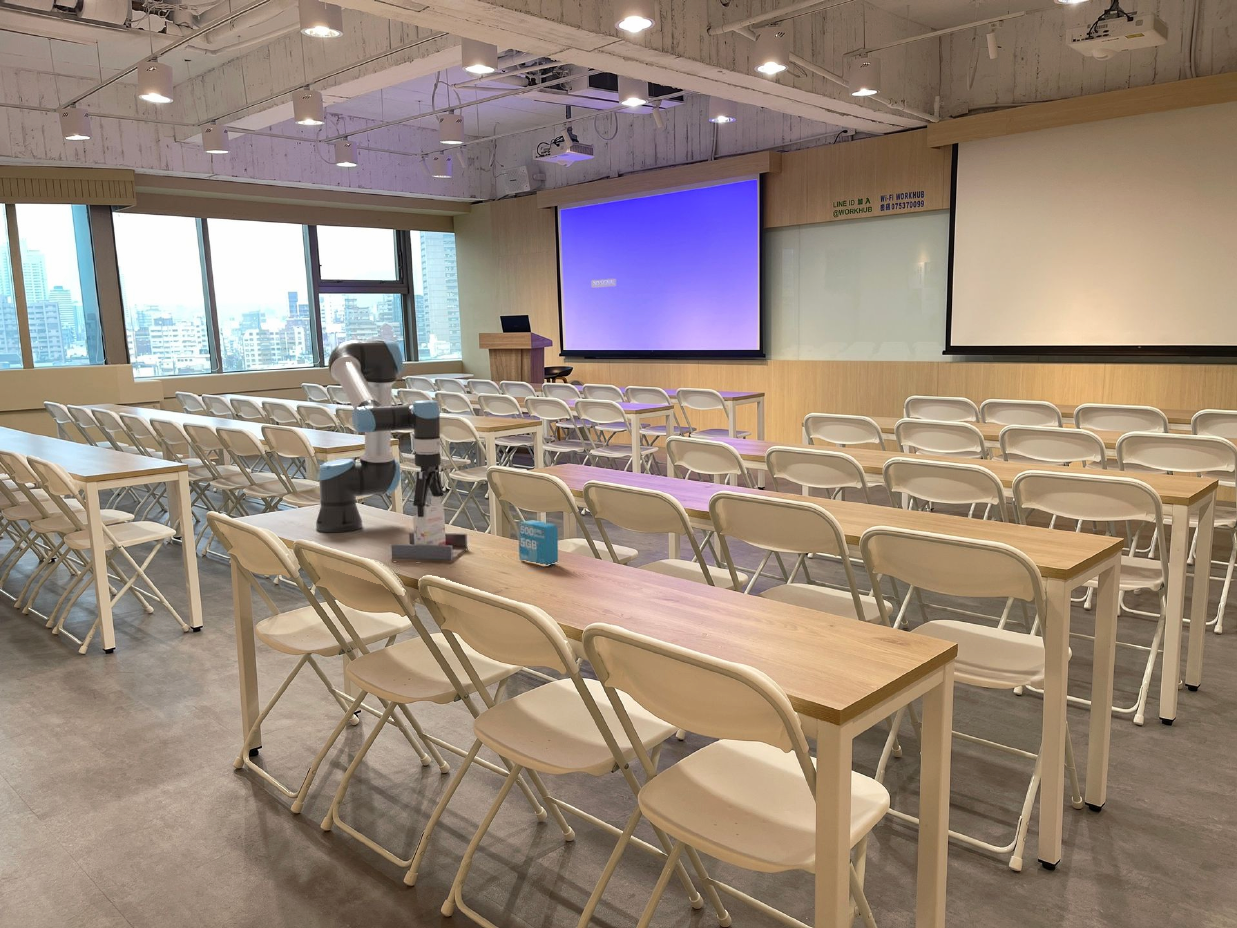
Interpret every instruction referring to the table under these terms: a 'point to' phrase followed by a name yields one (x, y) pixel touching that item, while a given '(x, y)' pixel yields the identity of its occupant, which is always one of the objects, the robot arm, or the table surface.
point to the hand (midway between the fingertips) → (429, 522)
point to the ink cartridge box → (431, 527)
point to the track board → (431, 550)
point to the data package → (538, 542)
